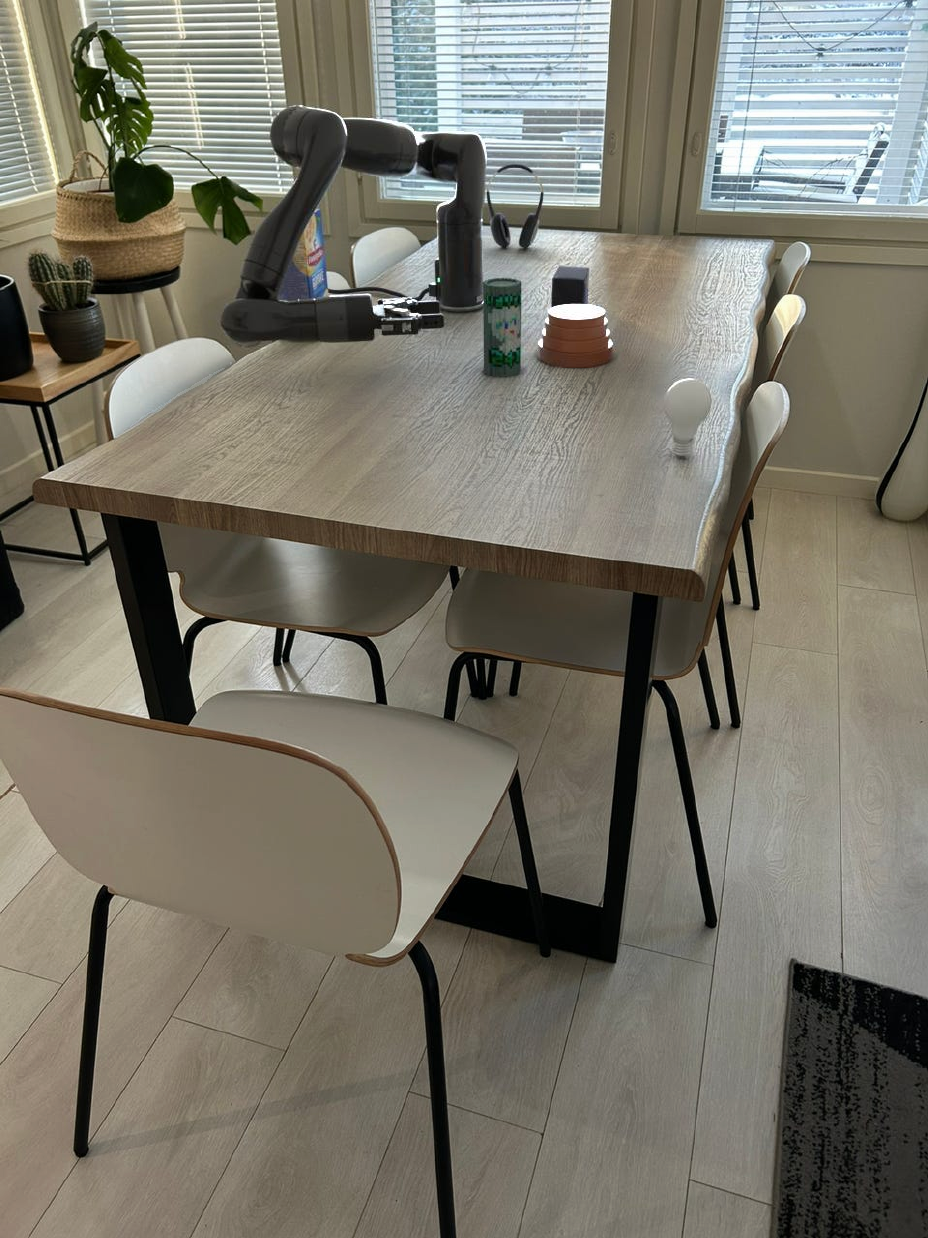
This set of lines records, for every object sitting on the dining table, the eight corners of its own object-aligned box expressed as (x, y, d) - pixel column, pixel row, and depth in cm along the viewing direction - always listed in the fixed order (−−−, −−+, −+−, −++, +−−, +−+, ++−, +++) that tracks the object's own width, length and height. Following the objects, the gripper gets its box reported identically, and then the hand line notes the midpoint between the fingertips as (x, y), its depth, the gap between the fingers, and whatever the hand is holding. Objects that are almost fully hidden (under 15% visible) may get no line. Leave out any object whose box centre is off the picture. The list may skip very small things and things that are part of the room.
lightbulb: (653, 448, 138) (660, 373, 132) (697, 446, 139) (706, 371, 133) (665, 466, 133) (673, 388, 127) (710, 464, 133) (720, 386, 127)
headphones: (539, 251, 249) (541, 166, 238) (483, 249, 252) (482, 165, 241) (545, 244, 256) (546, 161, 245) (490, 243, 259) (489, 160, 248)
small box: (582, 335, 186) (585, 278, 180) (549, 334, 187) (550, 277, 181) (588, 320, 195) (590, 265, 189) (555, 319, 196) (557, 265, 190)
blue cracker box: (331, 325, 196) (320, 208, 184) (315, 341, 186) (302, 219, 175) (299, 324, 197) (286, 208, 185) (281, 340, 188) (266, 219, 176)
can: (495, 378, 166) (495, 288, 158) (478, 368, 170) (477, 280, 162) (526, 372, 168) (527, 283, 160) (508, 362, 173) (509, 275, 165)
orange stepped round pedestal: (523, 359, 174) (524, 314, 170) (564, 341, 183) (565, 297, 179) (586, 372, 167) (588, 325, 163) (625, 353, 176) (628, 308, 172)
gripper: (343, 306, 153) (445, 301, 155) (342, 285, 165) (436, 280, 167) (347, 353, 157) (446, 348, 159) (346, 329, 169) (438, 324, 171)
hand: (441, 313), depth 163 cm, fingers open, 8 cm apart
